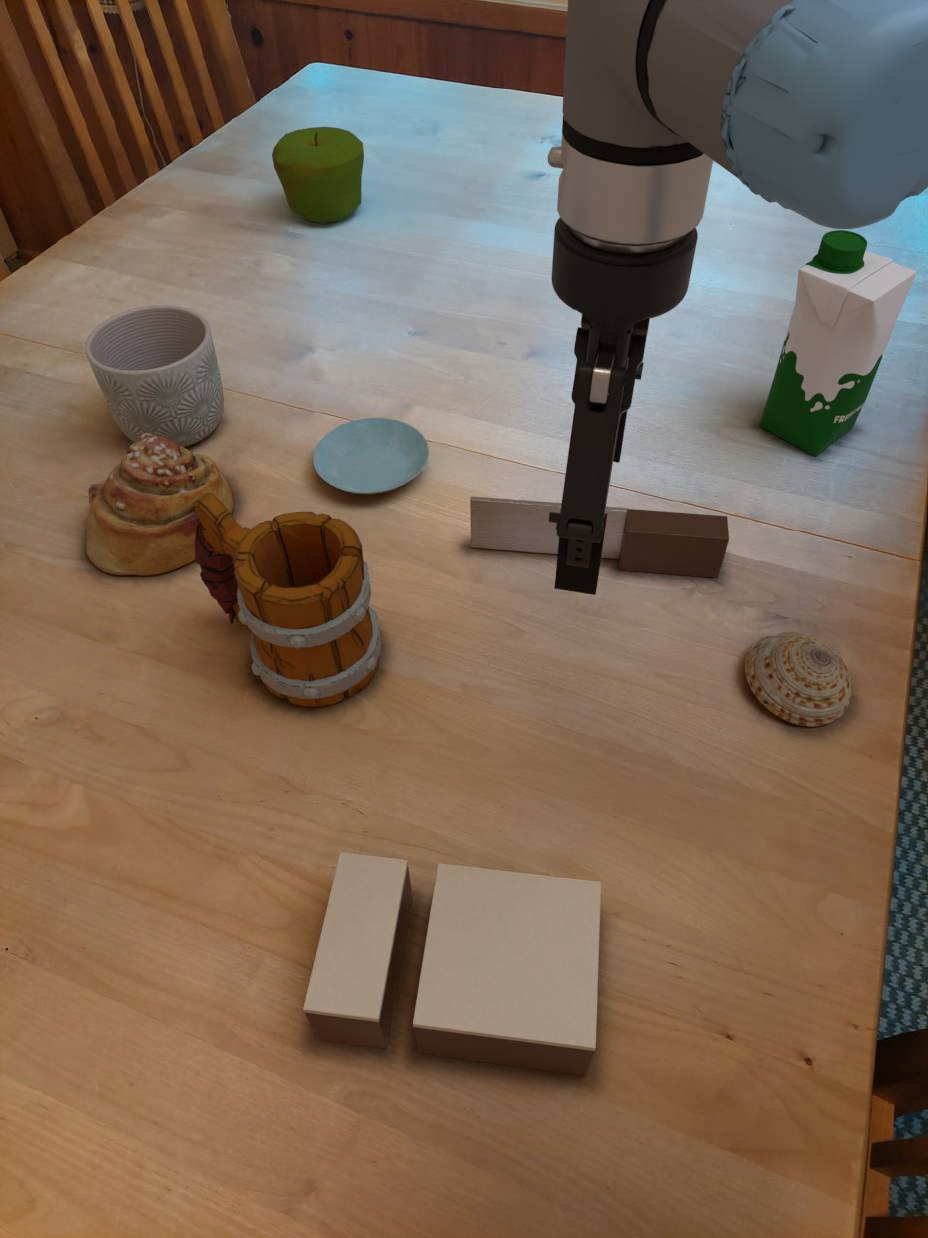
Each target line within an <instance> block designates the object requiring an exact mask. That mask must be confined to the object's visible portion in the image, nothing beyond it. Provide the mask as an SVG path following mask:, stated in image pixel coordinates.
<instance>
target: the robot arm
mask: <svg viewBox="0 0 928 1238" xmlns="http://www.w3.org/2000/svg"><path fill="white" fill-rule="evenodd" d="M566 11H567V13H566V14H567V15H566V32H565V52H564V53H565V54H564V71H563V72H564V73H563V91H562V92H563V94H562V109H561V110H562V123H561V124H562V126H561V139H560V140H561V141H560V143H561V144H560V146H551V148H550V149H549V151H548V153H547V163H548V165H549V166H550V167H551V168H554V169H555V168H556V169H562V171H561V172H560V175H559V178H558V187H557V188H558V189H557V204H556V211H557V213H558V216H559V218H558V219H557V220H556V223H555V226H554V230H553V232H554V233H553V246H552V264H551V277H550V278H551V284H552V288H553V290H554V293H555V294H556V296H557V298H558V299H560V301H561V302H562V303H563V304H564V305H566V306H567V307H569V308H570V309H572V310H573V311H577V312H578V313H579V314H581V319H580V326H578V327H577V328H576V333H575V334H576V335H575V341H574V348H573V353H574V356H575V358H576V364H575V369H574V370H575V371H574V377H573V383H572V390H571V400H572V402H573V404H574V408H573V415H572V423H571V431H570V432H571V433H570V438H569V444H568V445H569V446H568V453H567V461H566V467H565V468H566V469H565V473H564V474H565V475H564V481H563V490H562V498H561V503H562V504H561V511H560V513H557V512H550V513H549V522H552V523H557V525H556V530H557V536H558V537H559V544H558V554H556V567H555V576H554V577H555V578H554V590H561V591H568V592H573V593H579V594H586V595H593V596H596V595H597V589H598V583H599V576H600V569H601V561H602V558H601V556H602V549H603V542H604V535H605V528H606V521H607V513H605V509H606V506H607V502H608V497H609V490H610V484H611V478H612V473H613V466H614V463H620V462H621V461H620V460H621V456H622V450H623V442H624V437H625V429H626V423H627V416H628V411H629V410H630V409H631V406H632V402H633V396H634V390H635V384H636V380H640V381H641V379H642V377H643V369H644V364H645V363H644V355H645V350H646V345H647V337H648V333H649V326H650V320H651V319H654V318H657V317H660V316H663V315H665V314H666V313H669V312H670V311H672V310H673V309H675V308H676V307H677V306H679V304H680V303H681V302H682V301H683V300H684V298H686V295H687V293H688V290H689V286H690V281H691V275H692V271H693V265H694V259H695V254H696V248H697V243H698V238H699V237H698V235H699V234H698V230H697V227H698V226H699V225H700V223H701V221H702V219H703V218H704V214H705V208H706V201H707V197H708V191H709V187H710V181H711V174H712V171H713V164H714V162H715V163H716V164H717V165H719V166H720V167H722V168H723V169H724V170H726V172H728V173H730V174H731V175H733V176H734V177H735V178H737V179H738V180H739V181H740V182H741V183H742V184H743V185H744V186H746V187H747V188H748V189H749V191H750V192H751V193H752V194H754V195H755V196H760V198H762V199H763V200H764V201H766V202H767V203H769V204H770V203H777V204H778V205H779V206H781V208H783V209H785V210H790V211H792V212H794V213H796V214H798V215H800V216H802V217H804V218H806V219H807V220H810V221H811V222H812V223H814V224H816V225H818V226H821V227H825V228H830V229H833V230H853V229H859V228H864V227H867V226H871V225H873V224H876V223H878V222H881V221H883V220H886V219H888V218H889V217H891V216H892V215H893V214H894V213H895V212H896V210H897V208H898V207H899V205H900V204H901V203H902V202H903V201H905V200H906V199H908V198H910V197H916V196H919V195H921V194H922V193H923V192H924V191H925V190H927V189H928V0H567V10H566Z"/></svg>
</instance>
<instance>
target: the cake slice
mask: <svg viewBox="0 0 928 1238" xmlns="http://www.w3.org/2000/svg"><path fill="white" fill-rule="evenodd" d="M413 897H414V896H413V890H412V882H411V876H410V869H409V861H408V859H403V858H396V857H387V856H377V855H370V854H361V853H360V854H359V853H353V852H352V853H351V852H344V851H340V852H339V855H338V859H337V864H336V868H335V872H334V875H333V881H332V884H331V889H330V893H329V896H328V902H327V904H326V905H327V906H326V909H325V914H324V918H323V922H322V927H321V931H320V935H319V939H318V944H317V948H316V951H315V956H314V960H313V963H312V964H313V965H312V968H311V974H310V978H309V982H308V985H307V990H306V995H305V999H304V1003H303V1007H302V1010H303V1012H304V1014H305V1016H306V1019H307V1021H308V1022H309V1025H310V1027H311V1029H312V1031H313V1033H314V1035H315V1037H316V1040H318V1041H325V1042H332V1043H340V1044H345V1045H353V1046H354V1045H355V1046H362V1047H369V1048H374V1049H375V1048H376V1049H377V1048H378V1049H384V1050H386V1049H388V1044H389V1039H390V1038H389V1037H390V1034H391V1033H390V1032H391V1027H392V1020H393V1015H394V1009H395V1003H396V997H397V991H398V986H399V980H400V974H401V968H402V965H403V964H402V963H403V958H404V951H405V945H406V940H407V935H408V928H409V923H410V917H411V913H412V911H411V909H412V906H413V899H414V898H413Z"/></svg>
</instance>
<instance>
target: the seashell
mask: <svg viewBox="0 0 928 1238" xmlns="http://www.w3.org/2000/svg"><path fill="white" fill-rule="evenodd" d="M744 673H745V677H746V681H747V684H748V686H749V688H750V690H751V692H752V693H753V695H754V696H755V698H756V699H757V700H758V701H759V702H760V704H762V705H763V707H764V708H766V709H767V710H768V711H769V712H770V713H772V714H773V715H775V716H777V717H778V718H780V719H782V720H783V721H786V722H788V723H790V724H793V725H796V726H803V727H810V728H811V727H812V728H813V727H822V726H826V725H828V724H831V723H833V722H836V721H837V720H838V719H840V718H841V717H842V716H843V715H844V714H845V712H846V711H847V709H848V707H849V705H850V702H851V698H852V693H853V692H852V691H853V690H852V689H853V685H852V679H851V674H850V672H849V669H848V666H847V665H846V663H845V662H844V660H843V658H842V657H841V655H840V654H839V653H837V651H836V650H835V649H834V648H832V647H831V646H830V645H828V644H827V643H826V642H825V641H822V640H820V639H818V638H815V637H813V636H811V635H807V634H805V633H801V632H796V631H785V632H784V631H783V632H781V633H777V634H773V635H772V634H771V635H767V636H764V637H761V638H759V639H758V640H757V641H755V642H754V644H753V645H752V646H750V648H749V650H748V653H747V655H746V658H745V660H744Z"/></svg>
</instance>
